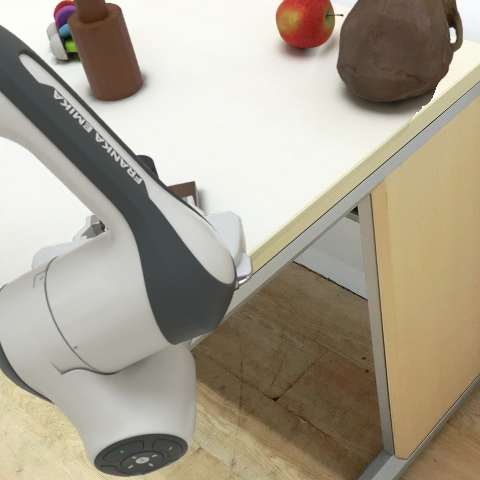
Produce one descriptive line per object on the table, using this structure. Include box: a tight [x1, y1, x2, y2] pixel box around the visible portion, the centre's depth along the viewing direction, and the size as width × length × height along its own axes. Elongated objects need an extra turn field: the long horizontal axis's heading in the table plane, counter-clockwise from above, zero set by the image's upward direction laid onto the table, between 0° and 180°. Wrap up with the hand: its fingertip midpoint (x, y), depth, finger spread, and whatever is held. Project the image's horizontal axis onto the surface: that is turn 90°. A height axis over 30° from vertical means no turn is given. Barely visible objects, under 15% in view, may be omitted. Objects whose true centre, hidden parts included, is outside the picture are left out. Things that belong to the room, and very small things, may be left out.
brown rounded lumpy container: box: [336, 0, 464, 103], centre depth 101 cm, size 19×20×13 cm
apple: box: [275, 0, 344, 49], centre depth 110 cm, size 8×8×10 cm
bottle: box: [67, 0, 144, 102], centre depth 105 cm, size 7×7×15 cm
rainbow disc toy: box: [46, 0, 78, 61], centre depth 118 cm, size 8×10×7 cm
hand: (141, 210), depth 80 cm, fingers open, 8 cm apart
